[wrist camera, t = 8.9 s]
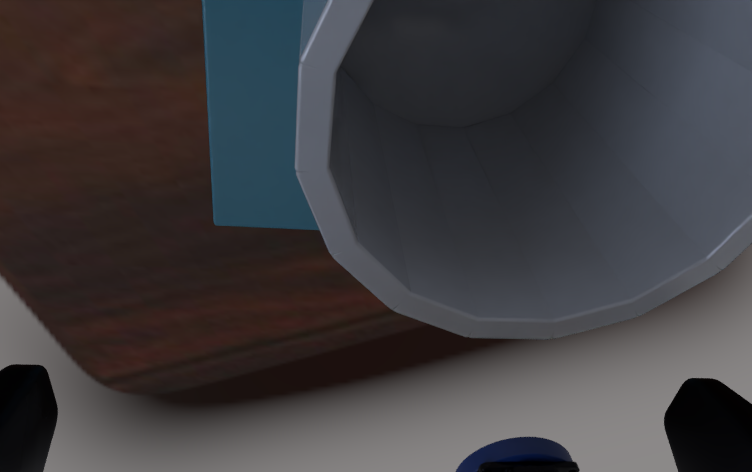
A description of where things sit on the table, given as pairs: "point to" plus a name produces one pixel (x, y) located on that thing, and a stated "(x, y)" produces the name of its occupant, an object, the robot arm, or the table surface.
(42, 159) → the table surface
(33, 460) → the robot arm
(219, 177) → the container
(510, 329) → the cup
